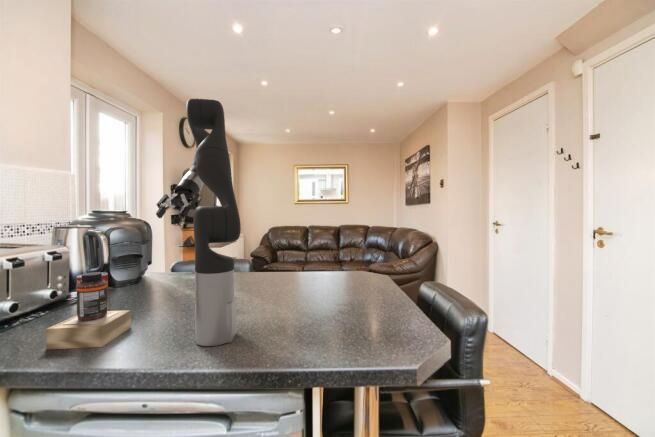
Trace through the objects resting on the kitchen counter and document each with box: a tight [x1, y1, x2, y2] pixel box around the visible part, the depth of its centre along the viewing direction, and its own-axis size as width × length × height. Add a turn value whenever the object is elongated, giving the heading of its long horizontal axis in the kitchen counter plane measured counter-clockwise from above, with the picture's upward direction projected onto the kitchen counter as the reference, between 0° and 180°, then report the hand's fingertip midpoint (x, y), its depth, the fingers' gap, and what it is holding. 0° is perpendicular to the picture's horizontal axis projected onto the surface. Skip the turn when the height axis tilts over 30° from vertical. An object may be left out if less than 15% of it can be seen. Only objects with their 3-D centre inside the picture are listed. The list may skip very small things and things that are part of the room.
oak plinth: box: [45, 309, 132, 350], centre depth 74 cm, size 12×12×5 cm
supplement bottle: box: [76, 271, 108, 321], centre depth 74 cm, size 6×6×11 cm
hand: (169, 216), depth 99 cm, fingers open, 8 cm apart
